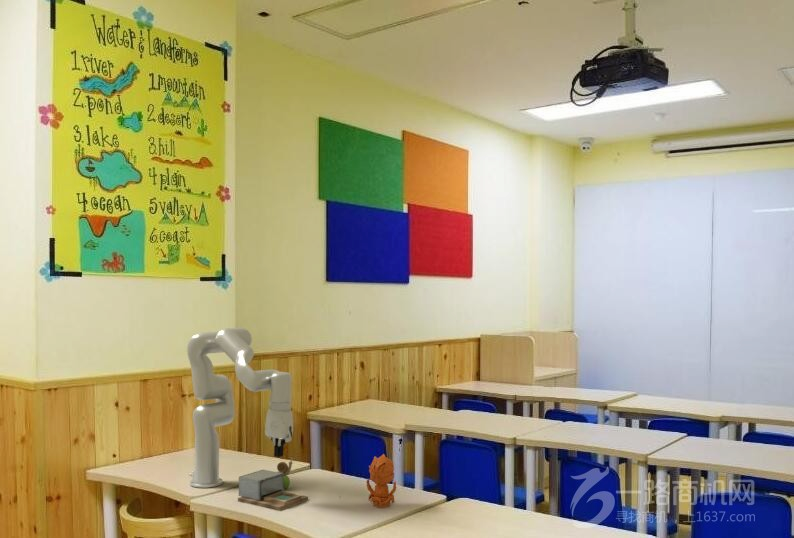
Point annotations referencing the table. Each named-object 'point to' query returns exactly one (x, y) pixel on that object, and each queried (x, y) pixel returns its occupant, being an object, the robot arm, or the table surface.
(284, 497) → the board
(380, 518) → the table surface
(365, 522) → the table surface
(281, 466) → the snail figurine
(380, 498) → the orange figurine
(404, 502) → the table surface
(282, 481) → the block
